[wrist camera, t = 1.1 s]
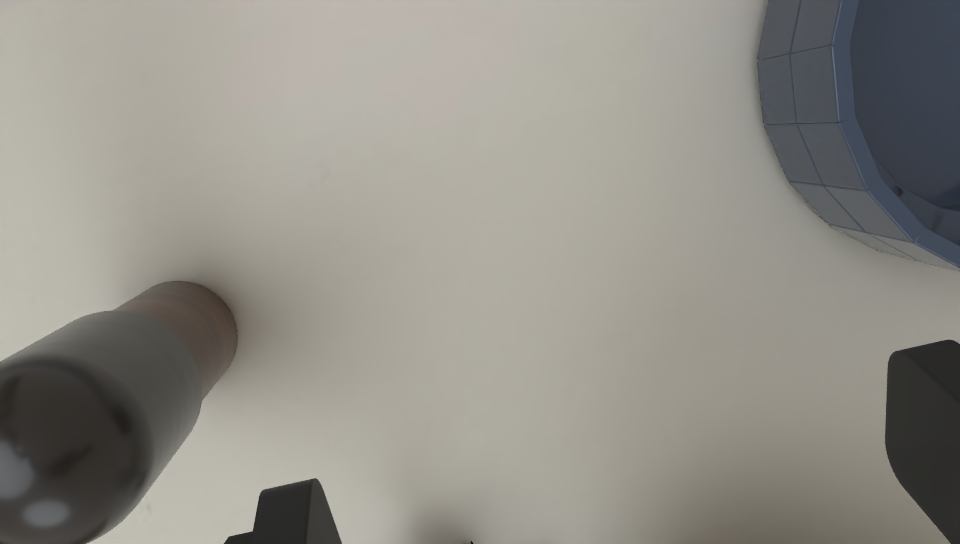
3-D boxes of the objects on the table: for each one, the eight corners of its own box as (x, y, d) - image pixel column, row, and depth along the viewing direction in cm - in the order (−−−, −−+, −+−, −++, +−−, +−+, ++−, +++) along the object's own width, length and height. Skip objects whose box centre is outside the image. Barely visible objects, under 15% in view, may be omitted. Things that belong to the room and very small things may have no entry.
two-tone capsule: (89, 310, 30) (-161, 447, 17) (204, 249, 30) (44, 340, 17) (157, 419, 31) (-30, 631, 18) (269, 361, 31) (165, 529, 18)
